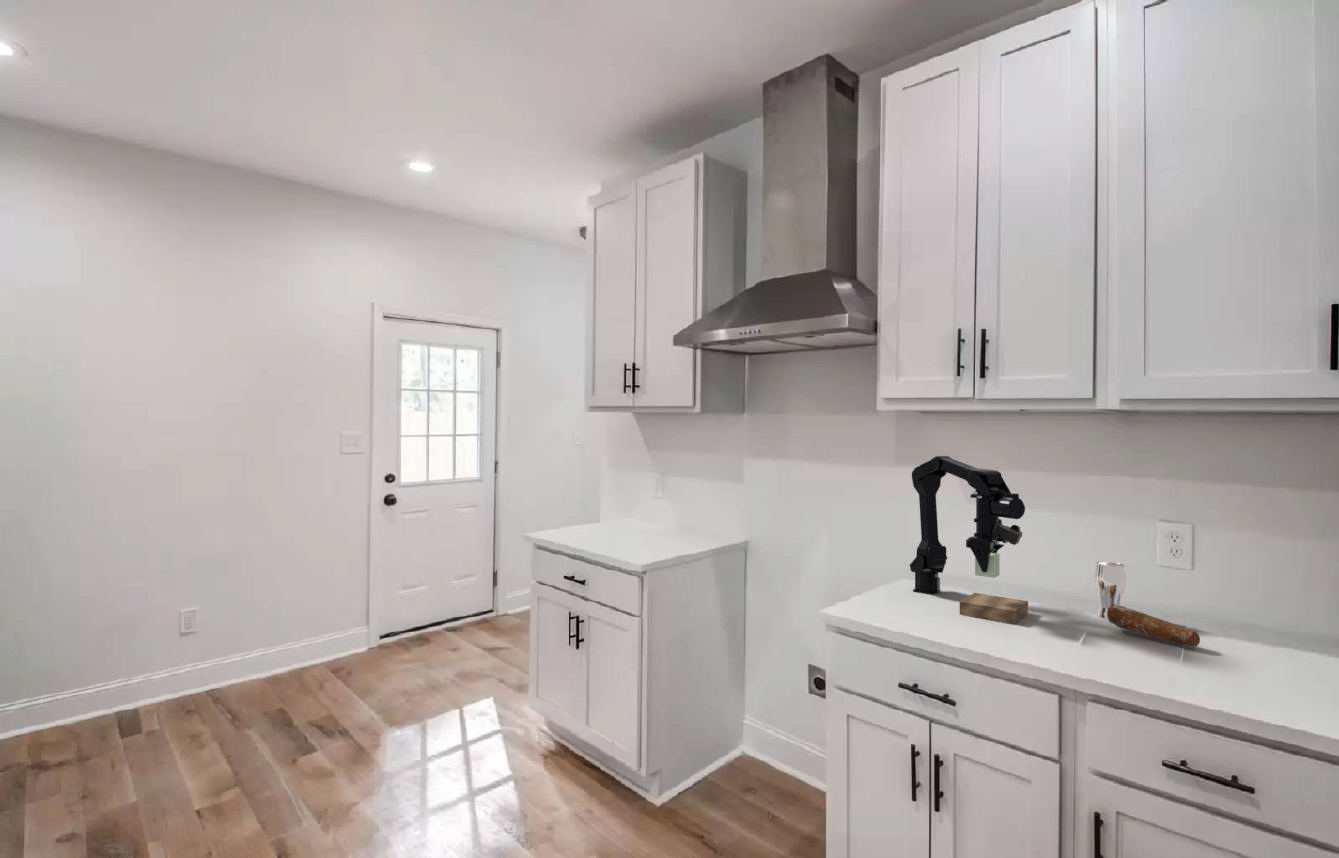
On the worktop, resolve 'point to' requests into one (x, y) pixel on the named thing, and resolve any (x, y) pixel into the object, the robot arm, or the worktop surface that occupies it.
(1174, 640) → the bread
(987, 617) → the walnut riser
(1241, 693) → the worktop surface
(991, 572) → the sage block
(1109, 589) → the beer glass
